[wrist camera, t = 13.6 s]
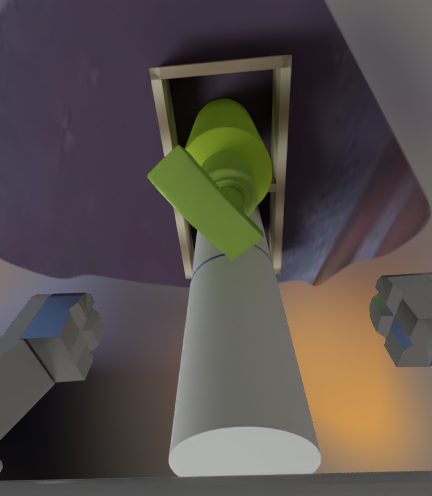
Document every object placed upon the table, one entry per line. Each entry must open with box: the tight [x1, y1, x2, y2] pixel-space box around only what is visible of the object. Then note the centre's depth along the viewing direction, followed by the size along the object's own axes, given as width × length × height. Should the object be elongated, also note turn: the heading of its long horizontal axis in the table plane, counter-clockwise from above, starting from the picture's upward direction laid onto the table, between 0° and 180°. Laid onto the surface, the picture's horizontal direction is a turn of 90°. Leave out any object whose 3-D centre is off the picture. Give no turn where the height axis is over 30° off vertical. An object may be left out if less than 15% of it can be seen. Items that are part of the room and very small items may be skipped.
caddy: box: [149, 55, 292, 279], centre depth 30 cm, size 21×11×4 cm, turn 5°
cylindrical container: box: [169, 206, 321, 477], centre depth 24 cm, size 7×7×25 cm
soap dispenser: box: [147, 99, 272, 260], centre depth 21 cm, size 6×7×20 cm
